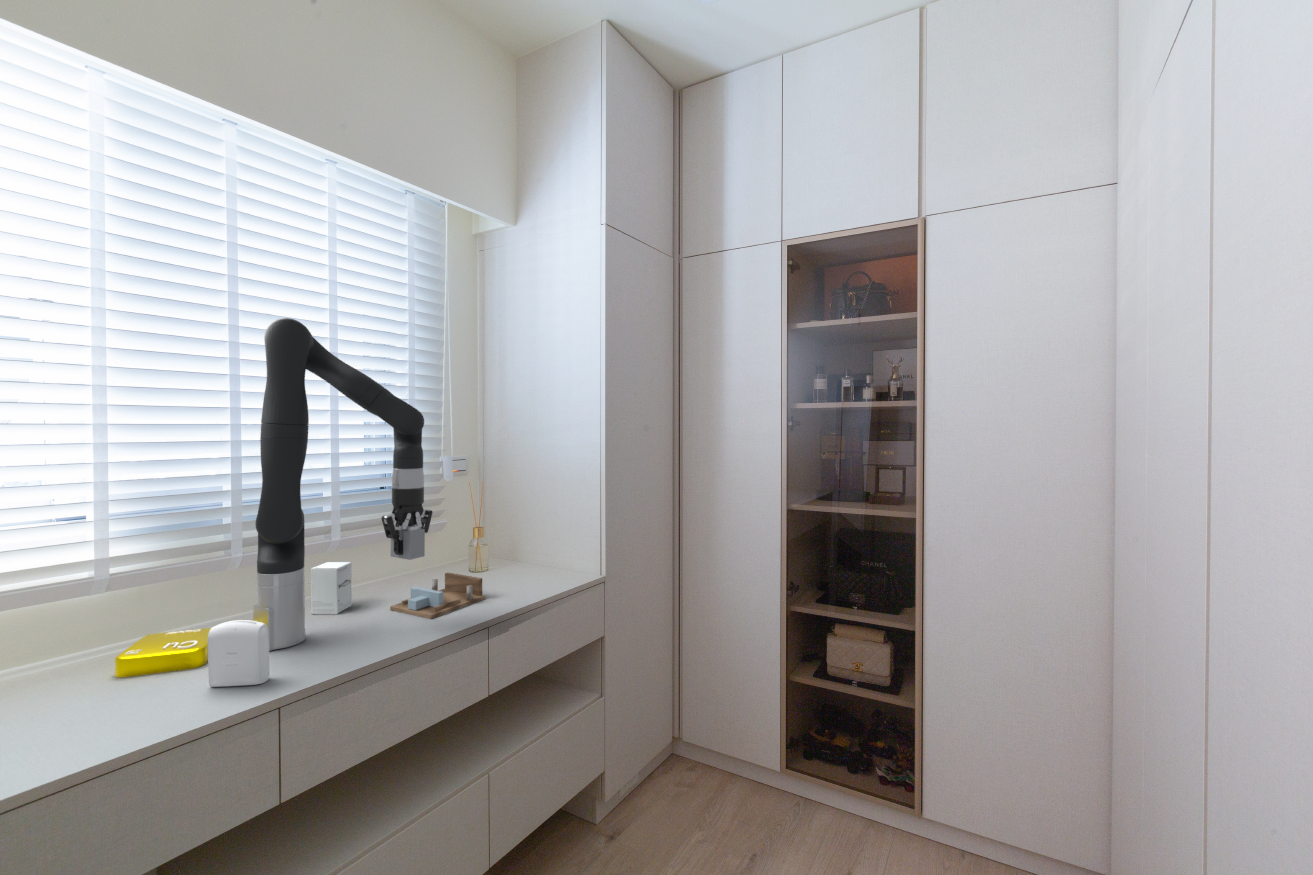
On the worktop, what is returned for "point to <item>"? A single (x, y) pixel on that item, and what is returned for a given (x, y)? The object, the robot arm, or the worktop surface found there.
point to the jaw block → (411, 543)
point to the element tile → (164, 653)
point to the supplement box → (331, 588)
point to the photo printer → (238, 653)
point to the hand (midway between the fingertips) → (407, 552)
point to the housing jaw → (424, 598)
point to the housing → (448, 596)
